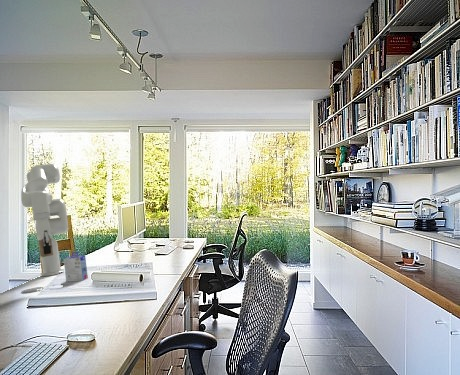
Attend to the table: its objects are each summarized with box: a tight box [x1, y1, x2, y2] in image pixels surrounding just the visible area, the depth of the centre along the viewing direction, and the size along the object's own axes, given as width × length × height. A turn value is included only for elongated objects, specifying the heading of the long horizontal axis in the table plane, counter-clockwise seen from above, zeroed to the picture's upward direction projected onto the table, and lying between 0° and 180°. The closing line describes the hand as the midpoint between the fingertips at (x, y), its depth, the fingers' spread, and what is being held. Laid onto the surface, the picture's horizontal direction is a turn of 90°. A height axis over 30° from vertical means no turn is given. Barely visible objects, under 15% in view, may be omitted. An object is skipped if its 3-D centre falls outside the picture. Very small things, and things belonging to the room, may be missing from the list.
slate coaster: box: [20, 286, 44, 295], centre depth 223 cm, size 10×10×1 cm
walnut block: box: [37, 239, 53, 258], centre depth 225 cm, size 5×5×8 cm
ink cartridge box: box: [63, 251, 89, 283], centre depth 237 cm, size 10×6×14 cm, turn 78°
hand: (46, 253), depth 225 cm, fingers closed on walnut block, 5 cm apart
